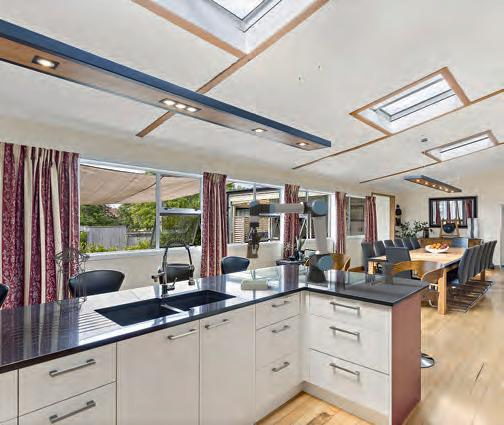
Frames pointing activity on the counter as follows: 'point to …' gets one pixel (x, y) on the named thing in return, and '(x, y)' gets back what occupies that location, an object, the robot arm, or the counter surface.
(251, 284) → the mug holder
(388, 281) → the coffeepot
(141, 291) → the counter surface
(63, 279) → the geometric lantern
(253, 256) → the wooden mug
